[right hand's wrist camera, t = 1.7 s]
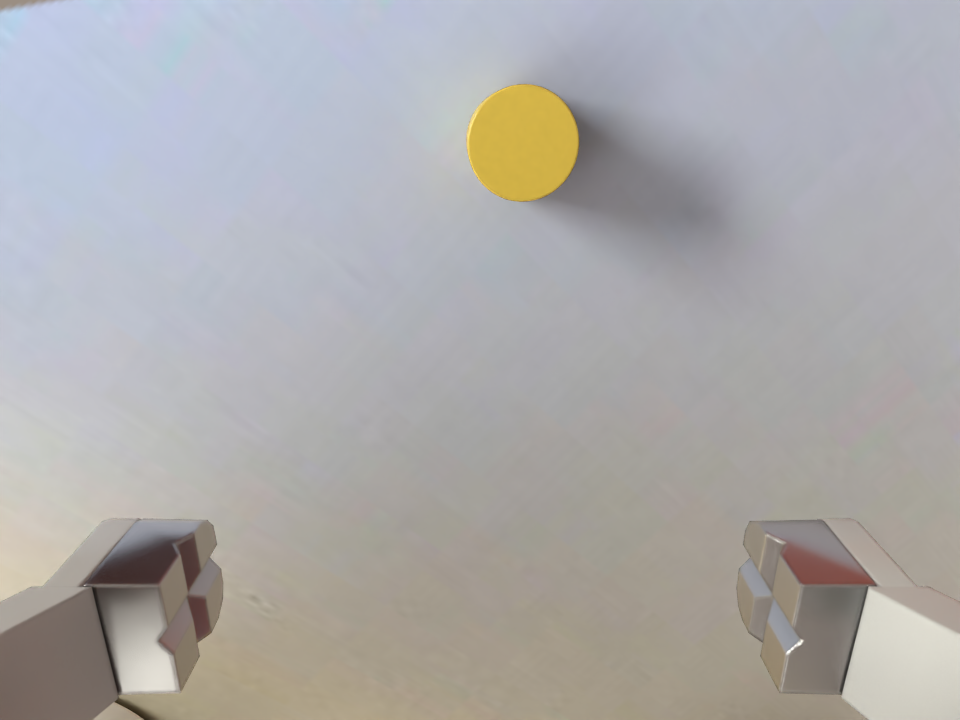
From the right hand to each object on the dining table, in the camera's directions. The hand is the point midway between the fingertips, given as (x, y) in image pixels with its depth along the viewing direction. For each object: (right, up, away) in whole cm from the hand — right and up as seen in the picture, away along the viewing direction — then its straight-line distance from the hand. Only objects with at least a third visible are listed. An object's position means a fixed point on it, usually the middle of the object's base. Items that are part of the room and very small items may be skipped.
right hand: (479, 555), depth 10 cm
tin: (+2, +13, +20) cm, 24 cm away
